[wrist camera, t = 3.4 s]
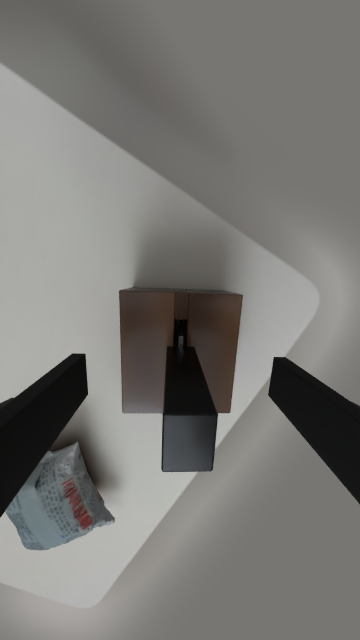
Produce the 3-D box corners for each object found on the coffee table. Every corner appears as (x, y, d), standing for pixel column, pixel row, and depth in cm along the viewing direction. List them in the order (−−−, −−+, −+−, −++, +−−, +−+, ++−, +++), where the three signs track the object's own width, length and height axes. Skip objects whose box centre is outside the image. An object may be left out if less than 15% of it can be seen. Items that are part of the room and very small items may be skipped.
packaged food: (87, 424, 21) (62, 467, 16) (119, 503, 24) (106, 559, 19) (12, 441, 21) (-34, 489, 17) (52, 518, 24) (22, 578, 19)
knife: (187, 319, 19) (220, 395, 7) (186, 356, 20) (211, 486, 8) (168, 318, 19) (163, 395, 7) (167, 355, 20) (160, 488, 7)
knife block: (224, 290, 19) (243, 294, 14) (216, 382, 21) (230, 413, 16) (132, 287, 18) (118, 290, 14) (133, 381, 21) (122, 413, 16)
